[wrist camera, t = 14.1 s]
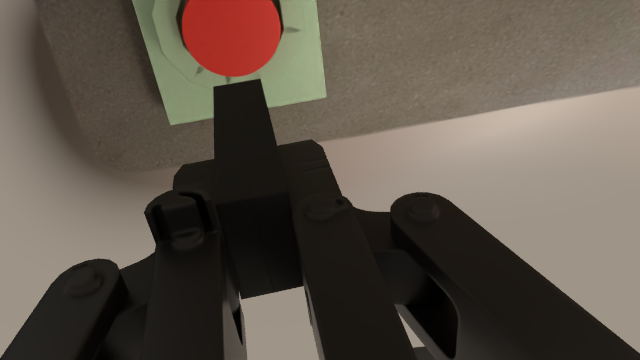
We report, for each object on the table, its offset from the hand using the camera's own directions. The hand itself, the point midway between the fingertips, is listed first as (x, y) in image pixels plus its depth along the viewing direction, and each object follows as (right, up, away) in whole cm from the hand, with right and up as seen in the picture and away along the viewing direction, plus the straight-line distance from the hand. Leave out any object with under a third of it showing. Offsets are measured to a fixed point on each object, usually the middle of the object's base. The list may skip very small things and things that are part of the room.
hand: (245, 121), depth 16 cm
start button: (-2, +7, +11) cm, 13 cm away
